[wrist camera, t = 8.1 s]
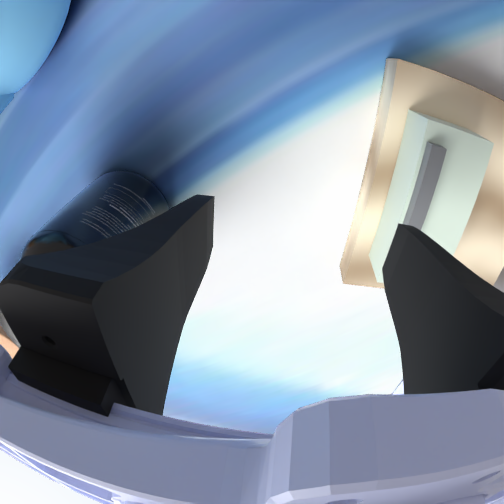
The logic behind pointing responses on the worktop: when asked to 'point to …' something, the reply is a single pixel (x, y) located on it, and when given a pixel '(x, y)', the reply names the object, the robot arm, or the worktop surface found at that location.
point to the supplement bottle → (96, 217)
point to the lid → (432, 184)
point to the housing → (385, 156)
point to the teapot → (26, 40)
